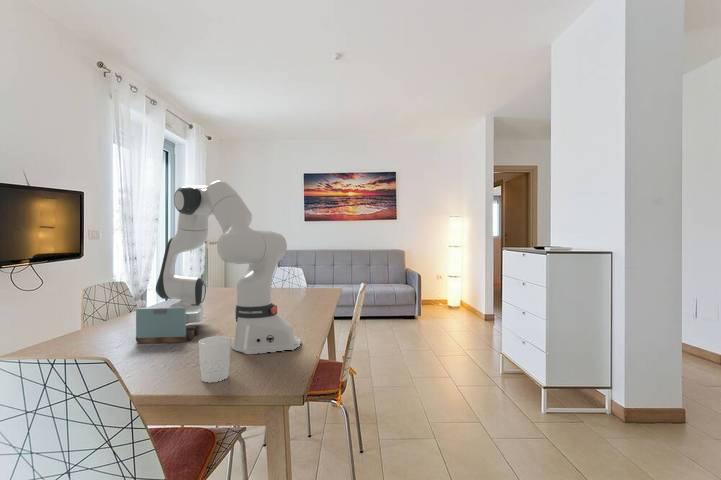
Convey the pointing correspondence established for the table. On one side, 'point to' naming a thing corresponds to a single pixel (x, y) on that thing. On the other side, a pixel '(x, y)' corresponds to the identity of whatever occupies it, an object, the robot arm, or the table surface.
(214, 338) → the white cup
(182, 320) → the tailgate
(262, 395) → the table surface
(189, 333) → the cart bed
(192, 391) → the table surface
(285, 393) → the table surface
